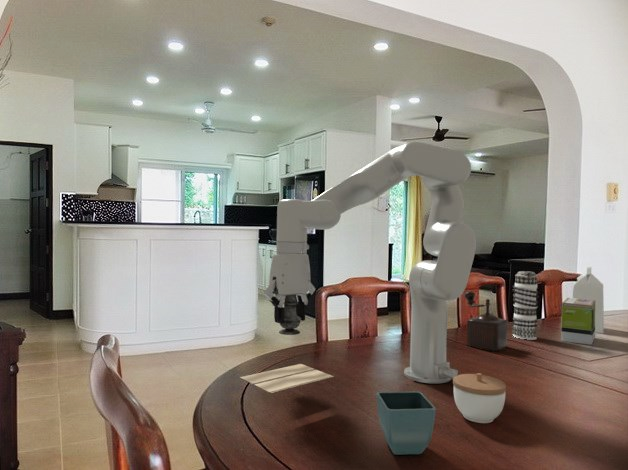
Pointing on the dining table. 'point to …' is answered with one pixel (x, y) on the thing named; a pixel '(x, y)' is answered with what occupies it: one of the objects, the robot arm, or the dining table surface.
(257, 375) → the floor strip
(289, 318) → the salt shaker
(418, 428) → the flower pot
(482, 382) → the lidded jar
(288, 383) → the plank
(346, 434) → the dining table surface
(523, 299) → the decorative candle
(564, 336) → the tea box
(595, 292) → the milk
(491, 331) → the dark brown coffee grinder
